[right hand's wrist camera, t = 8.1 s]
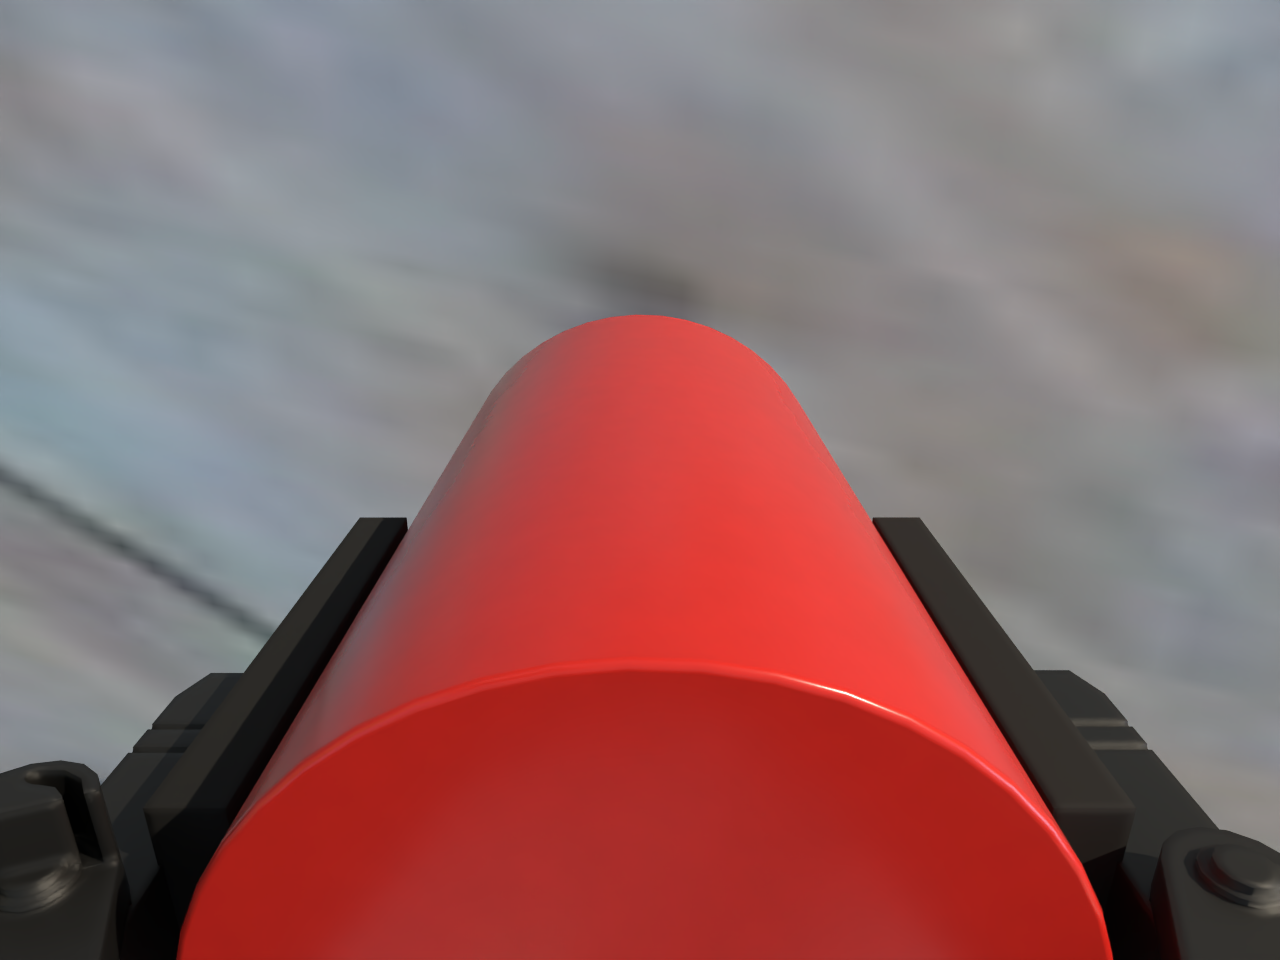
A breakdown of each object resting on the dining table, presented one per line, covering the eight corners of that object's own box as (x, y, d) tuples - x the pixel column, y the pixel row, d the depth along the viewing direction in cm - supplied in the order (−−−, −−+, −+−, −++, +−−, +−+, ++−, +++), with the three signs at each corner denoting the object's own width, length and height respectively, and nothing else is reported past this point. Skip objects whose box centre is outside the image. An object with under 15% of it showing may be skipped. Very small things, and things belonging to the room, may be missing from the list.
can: (410, 375, 17) (-24, 812, 6) (772, 266, 17) (1060, 534, 5) (533, 676, 20) (392, 1378, 9) (850, 595, 19) (1155, 1249, 8)
